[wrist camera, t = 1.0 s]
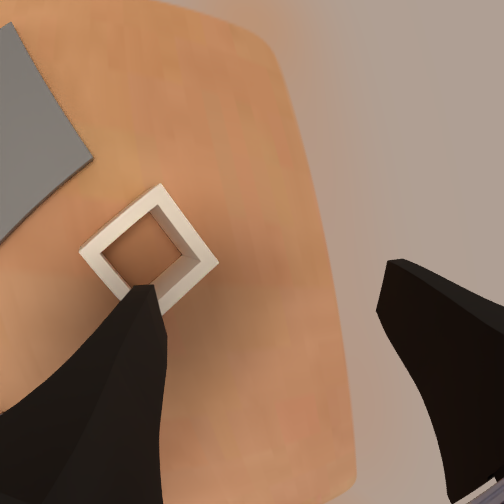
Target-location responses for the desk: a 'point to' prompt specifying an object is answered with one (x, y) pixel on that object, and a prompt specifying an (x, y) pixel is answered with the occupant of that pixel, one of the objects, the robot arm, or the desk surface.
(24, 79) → the shaft board
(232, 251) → the desk surface
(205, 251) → the collar
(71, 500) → the robot arm
